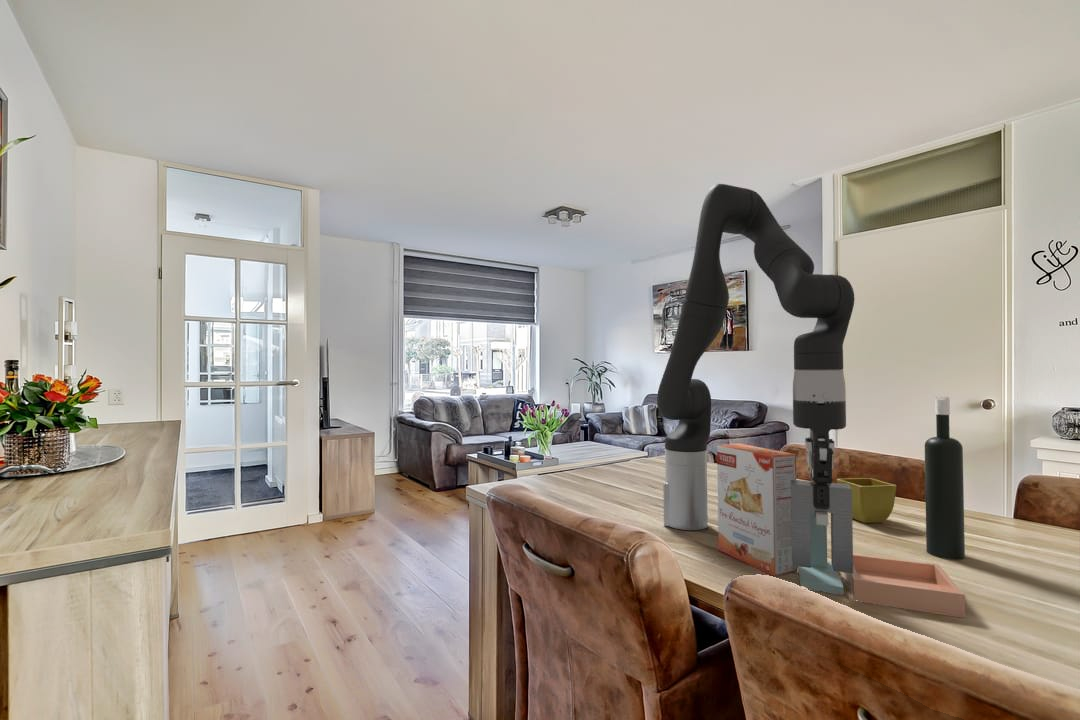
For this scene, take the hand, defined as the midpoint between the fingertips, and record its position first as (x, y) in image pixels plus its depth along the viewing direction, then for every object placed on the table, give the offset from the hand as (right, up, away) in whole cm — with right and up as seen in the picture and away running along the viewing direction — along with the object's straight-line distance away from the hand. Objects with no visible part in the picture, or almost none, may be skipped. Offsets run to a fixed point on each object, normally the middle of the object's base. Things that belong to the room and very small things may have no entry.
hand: (820, 504), depth 83 cm
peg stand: (+2, -14, +3) cm, 14 cm away
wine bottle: (+32, -14, +16) cm, 38 cm away
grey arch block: (0, -10, 0) cm, 10 cm away
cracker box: (-5, -14, +13) cm, 20 cm away
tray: (+12, -14, -1) cm, 18 cm away
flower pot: (+31, -14, +38) cm, 51 cm away
